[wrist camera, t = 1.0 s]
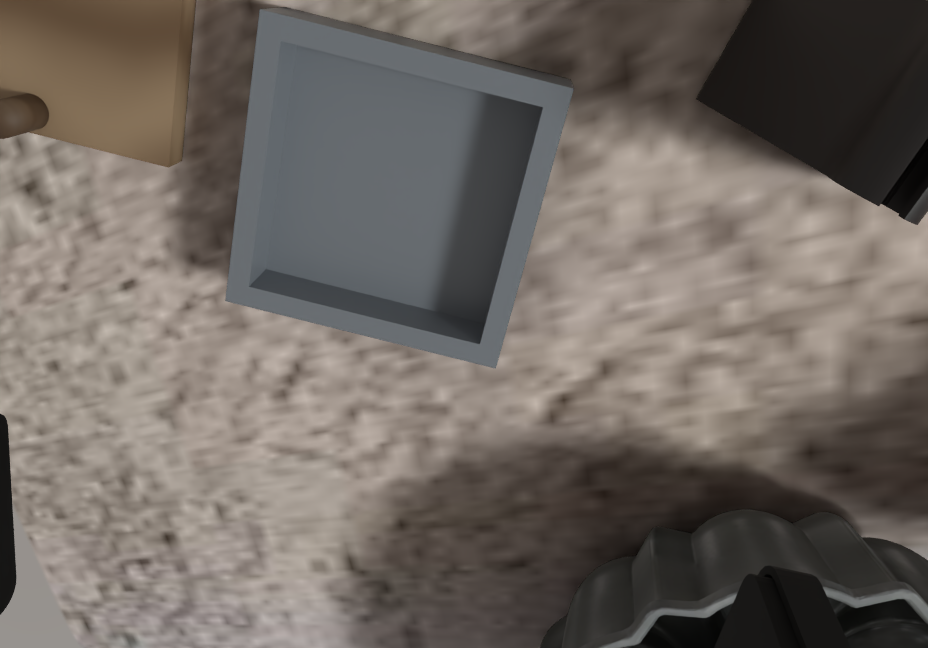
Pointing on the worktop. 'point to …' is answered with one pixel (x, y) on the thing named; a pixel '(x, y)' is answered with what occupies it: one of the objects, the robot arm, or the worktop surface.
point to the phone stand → (836, 91)
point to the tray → (390, 184)
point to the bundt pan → (722, 572)
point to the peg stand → (98, 73)
